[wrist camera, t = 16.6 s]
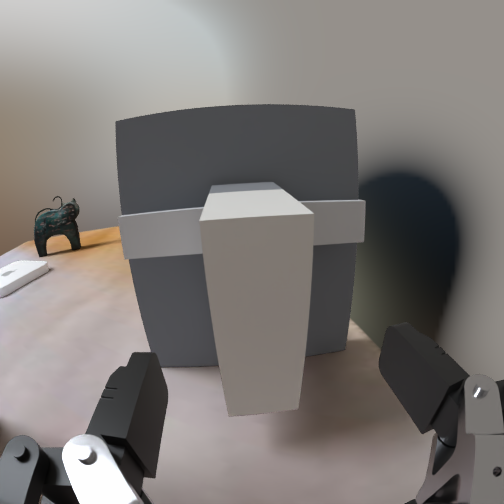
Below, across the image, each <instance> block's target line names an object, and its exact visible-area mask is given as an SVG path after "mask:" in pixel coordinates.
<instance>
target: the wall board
mask: <svg viewBox="0 0 504 504" xmlns="http://www.w3.org/2000/svg"><path fill="white" fill-rule="evenodd" d="M116 152H117V169H118V181H119V192H120V203H121V211H122V216H120V217H118V221H119V228H120V235H121V241H122V247H123V253H124V258H125V259H129V263H130V268H131V273H132V278H133V283H134V288H135V292H136V297H137V301H138V305H139V309H140V313H141V317H142V321H143V325H144V329H145V332H146V336H147V339H148V343H149V346H150V350H151V352H154V353H156V354H157V357H158V360H159V363H160V366H161V367H195V366H219V363H218V357H217V351H216V345H215V338H214V332H213V326H212V319H211V312H210V305H209V298H208V291H207V283H206V276H205V268H204V259H203V251H202V242H201V233H200V223H199V220H200V217H201V214H202V211H203V209H204V206H205V203H206V200H207V197H208V195H209V192H210V189H211V186H212V185H226V184H241V183H259V182H274V183H275V184H276V185H278V186H279V187H280V188H282V189H283V190H284V191H286V192H287V193H288V194H290V195H291V196H292V197H294V198H295V199H296V200H298V201H299V202H300V203H301V204H303V205H304V206H305V207H306V208H308V209H309V210H310V211H312V212H313V213H314V241H313V263H312V281H311V296H310V309H309V321H308V332H307V342H306V352H305V357H306V356H312V355H319V354H324V353H330V352H336V351H341V350H345V347H346V341H347V334H348V327H349V320H350V312H351V304H352V295H353V286H354V275H355V274H354V273H355V262H356V245H357V242H364V228H365V227H364V226H365V201H363V200H358V154H357V153H358V152H357V132H356V119H355V110H354V109H345V108H335V107H324V106H308V105H307V106H306V105H274V104H272V105H271V104H267V105H266V104H263V105H232V106H216V107H205V108H194V109H185V110H177V111H170V112H163V113H156V114H151V115H145V116H139V117H134V118H129V119H124V120H120V121H116Z"/></svg>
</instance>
